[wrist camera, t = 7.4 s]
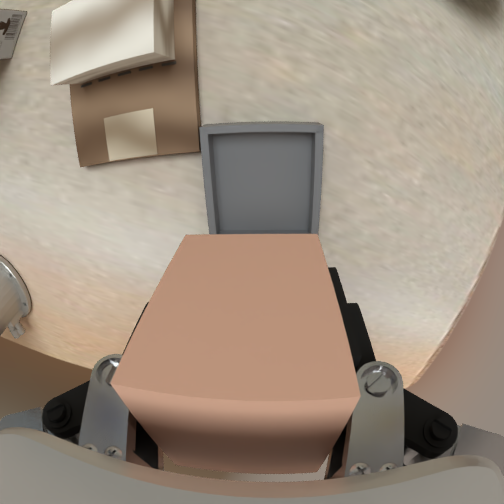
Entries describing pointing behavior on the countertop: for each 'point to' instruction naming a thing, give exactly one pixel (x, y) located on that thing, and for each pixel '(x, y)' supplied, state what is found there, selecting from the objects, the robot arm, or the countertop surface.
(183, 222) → the countertop surface
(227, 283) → the block
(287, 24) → the countertop surface
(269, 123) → the tray
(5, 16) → the coffee box
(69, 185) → the countertop surface
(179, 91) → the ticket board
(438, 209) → the countertop surface
